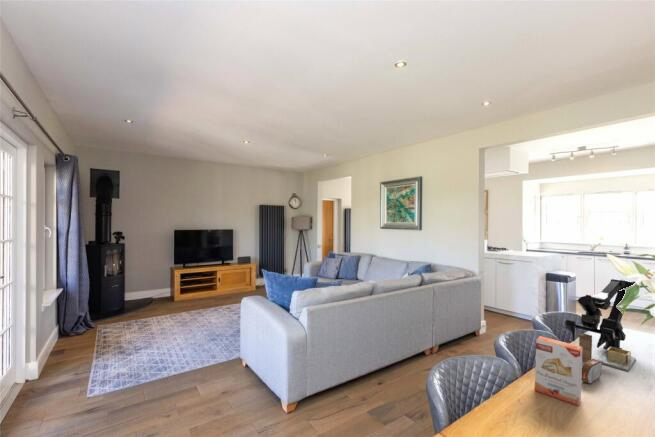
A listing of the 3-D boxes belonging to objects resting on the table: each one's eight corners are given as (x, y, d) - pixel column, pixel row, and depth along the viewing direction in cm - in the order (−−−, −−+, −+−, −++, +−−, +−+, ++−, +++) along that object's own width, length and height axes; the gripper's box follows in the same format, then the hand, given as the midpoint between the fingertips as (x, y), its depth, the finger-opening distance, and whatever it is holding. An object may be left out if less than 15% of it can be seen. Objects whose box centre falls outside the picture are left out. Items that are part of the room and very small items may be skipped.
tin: (594, 374, 138) (594, 356, 138) (603, 378, 135) (603, 358, 135) (579, 383, 130) (579, 363, 130) (588, 387, 128) (588, 366, 128)
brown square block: (581, 357, 155) (581, 333, 155) (591, 360, 152) (592, 335, 152) (578, 360, 152) (579, 334, 152) (589, 363, 149) (589, 337, 149)
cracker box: (534, 391, 124) (535, 339, 124) (537, 385, 128) (539, 335, 128) (579, 407, 114) (580, 350, 114) (581, 400, 118) (582, 345, 118)
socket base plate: (606, 351, 162) (606, 342, 162) (635, 359, 154) (636, 349, 154) (596, 362, 150) (597, 352, 150) (628, 371, 141) (628, 360, 141)
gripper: (566, 303, 163) (558, 329, 156) (614, 313, 148) (608, 341, 141) (570, 316, 167) (563, 341, 161) (617, 326, 153) (611, 354, 146)
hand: (585, 344), depth 152 cm, fingers open, 9 cm apart
